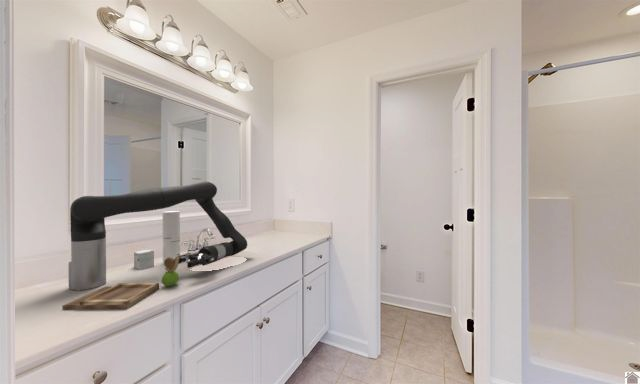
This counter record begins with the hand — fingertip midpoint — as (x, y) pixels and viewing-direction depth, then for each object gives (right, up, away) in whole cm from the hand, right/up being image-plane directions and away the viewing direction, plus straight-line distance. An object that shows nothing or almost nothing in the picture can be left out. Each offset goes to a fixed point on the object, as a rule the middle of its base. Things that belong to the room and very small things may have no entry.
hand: (179, 264), depth 90 cm
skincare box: (-28, -8, +20) cm, 35 cm away
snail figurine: (-1, -7, -3) cm, 8 cm away
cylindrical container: (-19, -7, +26) cm, 33 cm away
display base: (-13, -7, -13) cm, 20 cm away
